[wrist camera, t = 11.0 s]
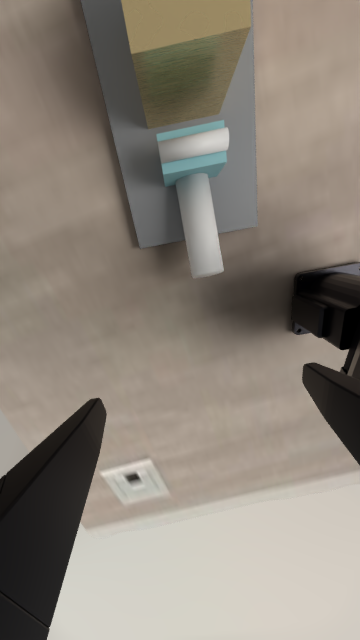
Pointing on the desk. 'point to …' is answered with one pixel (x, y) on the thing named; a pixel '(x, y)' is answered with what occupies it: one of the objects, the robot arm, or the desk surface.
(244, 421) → the desk surface
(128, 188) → the coupling stand
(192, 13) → the block
